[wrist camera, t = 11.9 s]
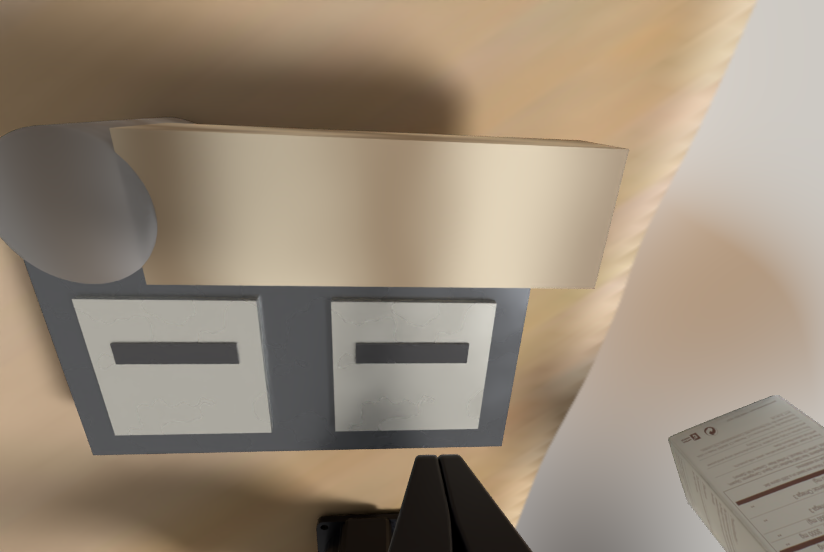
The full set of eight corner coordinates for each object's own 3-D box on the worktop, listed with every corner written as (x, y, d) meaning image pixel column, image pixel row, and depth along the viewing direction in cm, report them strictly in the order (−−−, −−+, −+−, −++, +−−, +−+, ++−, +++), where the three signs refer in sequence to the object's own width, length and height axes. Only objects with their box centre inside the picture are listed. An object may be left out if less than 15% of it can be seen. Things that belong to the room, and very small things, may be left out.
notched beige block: (136, 222, 18) (12, 283, 12) (111, 114, 16) (-50, 121, 10) (527, 230, 19) (594, 288, 13) (543, 133, 17) (628, 149, 11)
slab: (487, 406, 24) (503, 452, 20) (129, 410, 22) (87, 461, 19) (512, 245, 20) (537, 272, 17) (78, 235, 18) (15, 263, 15)
